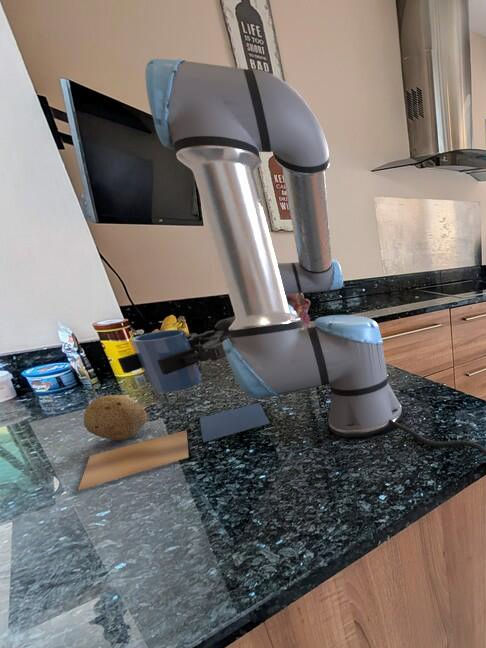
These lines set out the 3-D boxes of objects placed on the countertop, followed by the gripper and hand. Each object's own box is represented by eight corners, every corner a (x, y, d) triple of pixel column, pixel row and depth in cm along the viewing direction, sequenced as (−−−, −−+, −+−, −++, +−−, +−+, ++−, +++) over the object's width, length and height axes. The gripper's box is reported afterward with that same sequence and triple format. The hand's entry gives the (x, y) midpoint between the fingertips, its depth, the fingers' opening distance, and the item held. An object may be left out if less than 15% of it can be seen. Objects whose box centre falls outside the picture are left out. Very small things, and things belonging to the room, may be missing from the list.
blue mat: (270, 424, 86) (269, 423, 86) (203, 443, 80) (203, 442, 79) (259, 404, 97) (259, 402, 96) (200, 419, 90) (199, 418, 90)
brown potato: (81, 452, 78) (57, 407, 74) (119, 430, 86) (98, 388, 82) (129, 449, 79) (107, 404, 75) (162, 427, 87) (144, 386, 83)
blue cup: (203, 385, 76) (185, 335, 72) (152, 396, 71) (130, 343, 67) (201, 374, 81) (183, 327, 77) (153, 384, 77) (132, 335, 73)
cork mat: (189, 458, 75) (188, 457, 74) (78, 492, 66) (77, 490, 66) (187, 431, 85) (186, 429, 85) (90, 457, 76) (89, 455, 76)
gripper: (286, 348, 90) (198, 388, 70) (209, 346, 94) (103, 383, 73) (277, 316, 87) (183, 347, 67) (198, 315, 91) (85, 345, 70)
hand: (142, 366), depth 70 cm, fingers closed on blue cup, 8 cm apart
